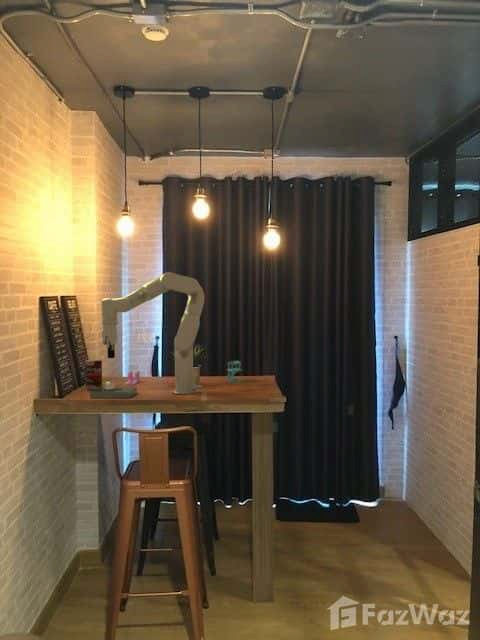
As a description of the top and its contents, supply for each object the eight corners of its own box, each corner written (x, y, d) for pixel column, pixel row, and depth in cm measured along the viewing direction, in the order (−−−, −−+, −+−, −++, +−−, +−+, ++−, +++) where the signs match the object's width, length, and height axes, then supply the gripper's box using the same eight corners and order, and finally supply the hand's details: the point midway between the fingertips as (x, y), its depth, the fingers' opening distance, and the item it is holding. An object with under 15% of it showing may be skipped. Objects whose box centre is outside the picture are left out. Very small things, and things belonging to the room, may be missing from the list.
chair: (225, 380, 304) (224, 360, 303) (238, 379, 307) (237, 359, 307) (230, 382, 297) (230, 362, 296) (243, 381, 300) (243, 361, 300)
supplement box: (86, 390, 280) (85, 361, 279) (86, 388, 284) (85, 360, 283) (102, 389, 282) (101, 360, 281) (102, 387, 287) (101, 359, 286)
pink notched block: (130, 382, 304) (129, 370, 304) (139, 382, 304) (139, 370, 303) (123, 386, 291) (123, 373, 291) (133, 386, 291) (133, 373, 291)
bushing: (116, 394, 267) (116, 381, 267) (113, 396, 262) (113, 382, 262) (107, 394, 267) (106, 380, 267) (103, 396, 262) (103, 382, 262)
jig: (136, 392, 271) (136, 387, 270) (128, 398, 257) (128, 392, 257) (100, 392, 272) (99, 386, 272) (90, 398, 259) (89, 392, 258)
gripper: (107, 321, 271) (109, 356, 272) (97, 323, 256) (99, 360, 257) (121, 321, 271) (122, 355, 272) (112, 323, 256) (113, 359, 257)
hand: (111, 357), depth 265 cm, fingers closed
